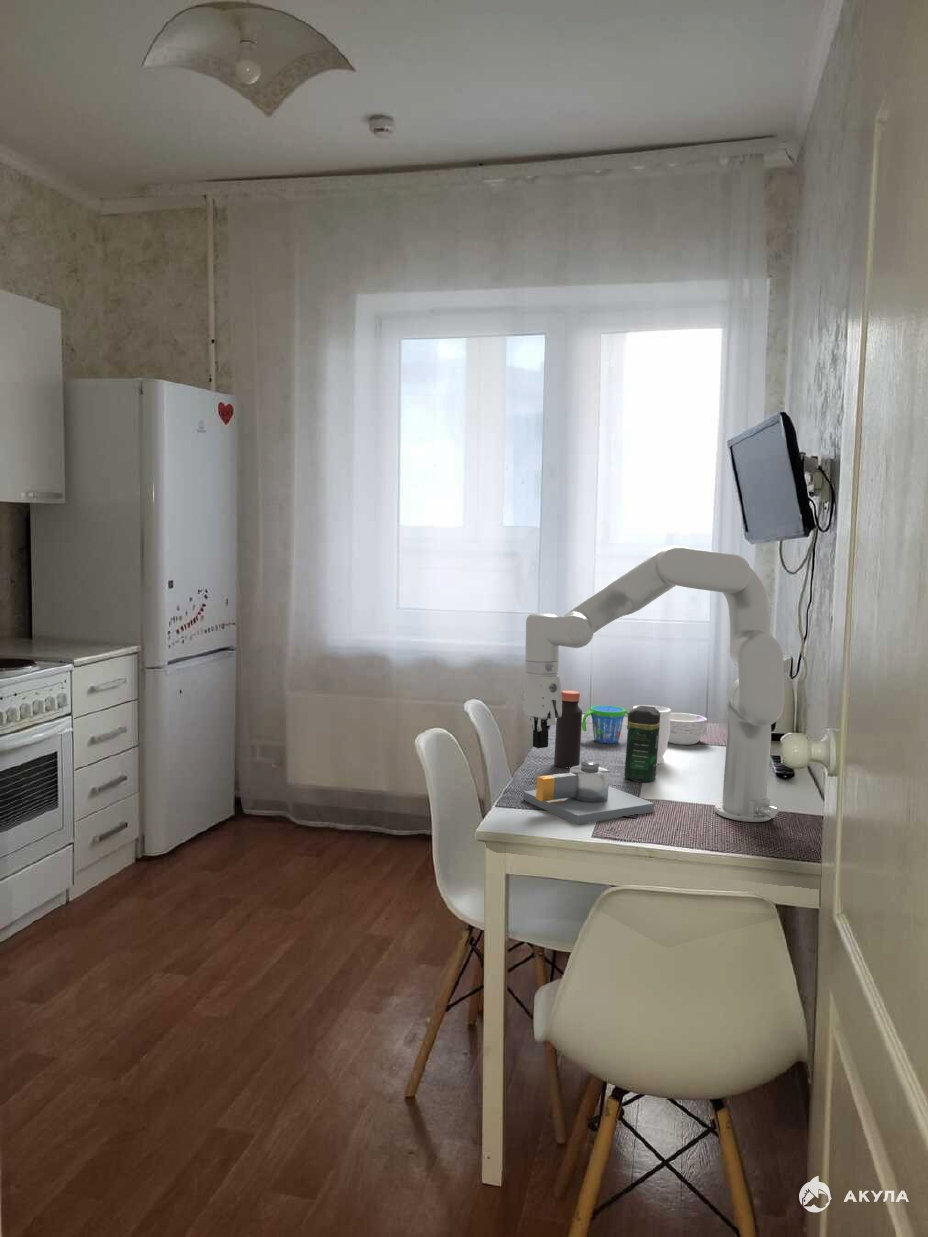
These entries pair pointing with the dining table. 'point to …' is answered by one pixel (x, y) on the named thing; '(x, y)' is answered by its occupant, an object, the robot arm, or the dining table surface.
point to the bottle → (568, 731)
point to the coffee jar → (642, 744)
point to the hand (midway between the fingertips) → (540, 747)
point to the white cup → (662, 730)
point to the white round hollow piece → (686, 728)
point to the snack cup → (606, 722)
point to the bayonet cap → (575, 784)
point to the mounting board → (593, 806)
